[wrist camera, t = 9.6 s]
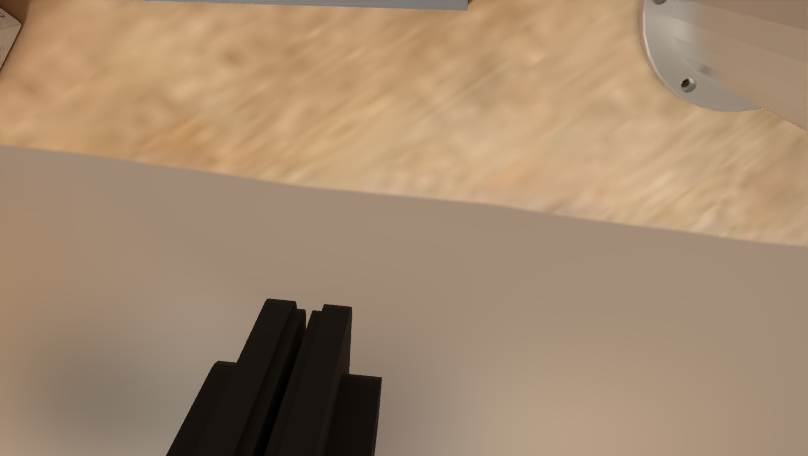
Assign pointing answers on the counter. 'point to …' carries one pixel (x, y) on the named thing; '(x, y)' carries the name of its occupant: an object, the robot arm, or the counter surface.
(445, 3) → the dial plate
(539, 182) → the counter surface
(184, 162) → the counter surface
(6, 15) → the skincare box
